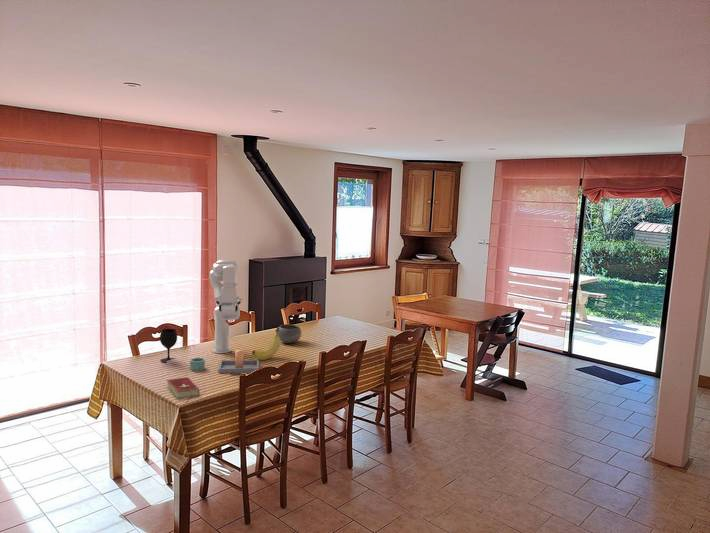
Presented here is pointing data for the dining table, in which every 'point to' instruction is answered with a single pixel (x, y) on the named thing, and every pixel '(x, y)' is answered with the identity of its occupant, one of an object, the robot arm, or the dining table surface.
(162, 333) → the wine glass
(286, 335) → the bowl
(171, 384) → the hardcover book
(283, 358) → the dining table surface
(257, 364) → the tray
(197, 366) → the cup
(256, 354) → the banana
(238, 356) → the peg
